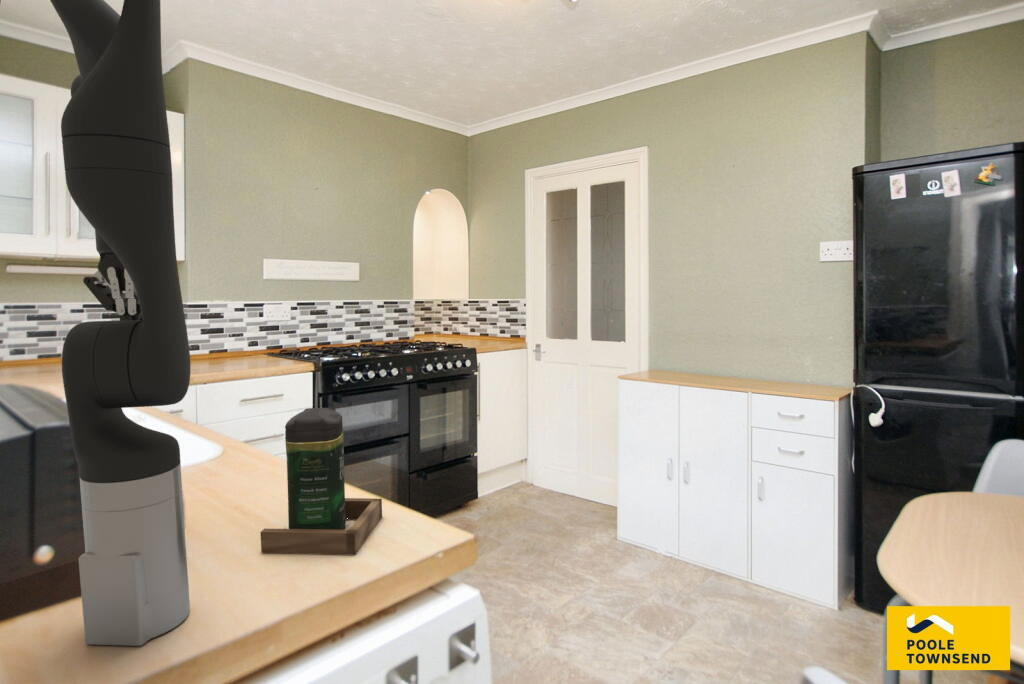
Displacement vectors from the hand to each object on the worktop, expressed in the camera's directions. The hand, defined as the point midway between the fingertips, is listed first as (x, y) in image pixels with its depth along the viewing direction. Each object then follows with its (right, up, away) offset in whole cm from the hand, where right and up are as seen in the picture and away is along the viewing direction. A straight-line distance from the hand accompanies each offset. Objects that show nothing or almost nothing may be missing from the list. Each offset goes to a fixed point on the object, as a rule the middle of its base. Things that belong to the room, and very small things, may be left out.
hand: (134, 340), depth 89 cm
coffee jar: (+27, -29, +2) cm, 39 cm away
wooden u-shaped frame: (+27, -29, +1) cm, 40 cm away
